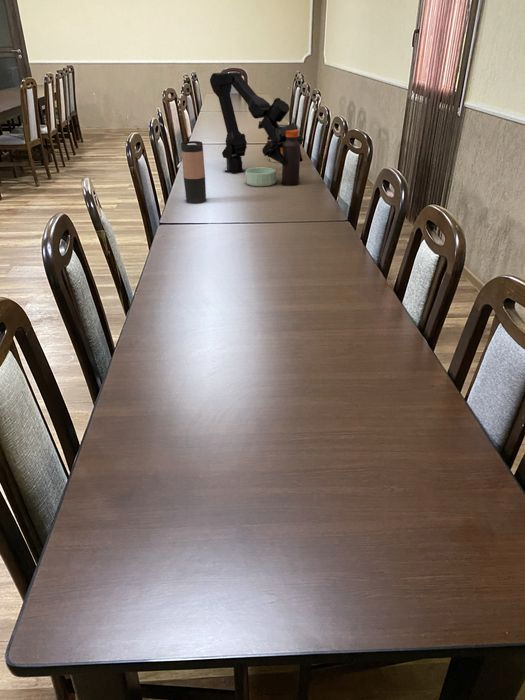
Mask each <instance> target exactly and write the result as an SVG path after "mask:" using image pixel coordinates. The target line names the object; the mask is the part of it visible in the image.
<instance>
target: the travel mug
mask: <svg viewBox="0 0 525 700" xmlns="http://www.w3.org/2000/svg"><path fill="white" fill-rule="evenodd" d="M180 149H181V150H180V151H181V163H182V173H183V174H182V175H183V183H184V185H183V186H184V193H185V201H186V203H188V204H202V203H205V202H206V201H207V188H206V187H207V186H206V170H205V159H204V158H205V156H204V146H203V142H202V141H198V140H189V141H187V140H186V141H183V142H181V143H180Z"/></svg>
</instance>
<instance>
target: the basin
mask: <svg viewBox="0 0 525 700" xmlns="http://www.w3.org/2000/svg"><path fill="white" fill-rule="evenodd" d="M244 172H245V183H246V184H247V185H248V186H251V187H260V188H261V187H270V186H273V185H275V184H276V183H277V169H275V168H274V167H273V168H272V167H263V166H262V167H261V166H259V167H257V166H256V167H252V168H251V167H250V168H247V169H245V170H244Z"/></svg>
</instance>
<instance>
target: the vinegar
mask: <svg viewBox="0 0 525 700" xmlns="http://www.w3.org/2000/svg"><path fill="white" fill-rule="evenodd" d="M298 135H299V129H298V130H291V131H286V135H285V136H286V141H285V142H284V143H283V157H284V159H285V161H286V163H287V165H286V166H284V165H283V164H281V183H282V184H283V185H285V186H297V185H299V184H300V168H301V167H300V164H301V162H300V150H301V145H300V143H299V142H298V141H297V138H298Z"/></svg>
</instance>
